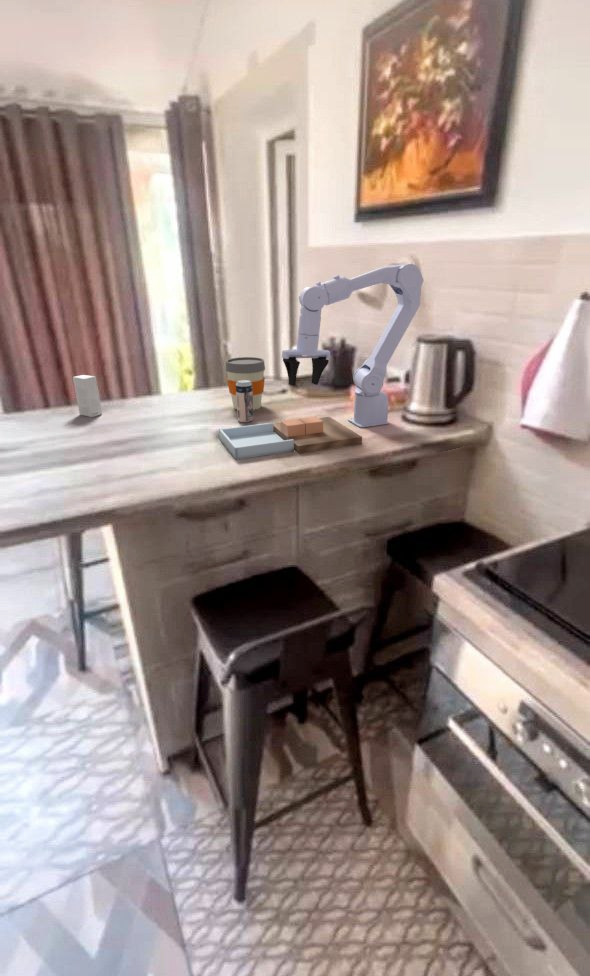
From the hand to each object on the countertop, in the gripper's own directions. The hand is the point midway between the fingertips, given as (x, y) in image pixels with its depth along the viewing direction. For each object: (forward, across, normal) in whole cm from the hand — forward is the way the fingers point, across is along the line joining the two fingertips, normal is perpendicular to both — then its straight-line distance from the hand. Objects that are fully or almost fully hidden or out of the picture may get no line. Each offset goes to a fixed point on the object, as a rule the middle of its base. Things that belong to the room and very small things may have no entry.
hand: (303, 384), depth 144 cm
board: (+12, +2, +10) cm, 16 cm away
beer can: (+14, +10, -14) cm, 22 cm away
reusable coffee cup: (+14, +2, -28) cm, 31 cm away
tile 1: (+11, +8, +9) cm, 16 cm away
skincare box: (+19, +47, -47) cm, 69 cm away
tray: (+14, +18, +7) cm, 24 cm away
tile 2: (+10, +3, +10) cm, 14 cm away
